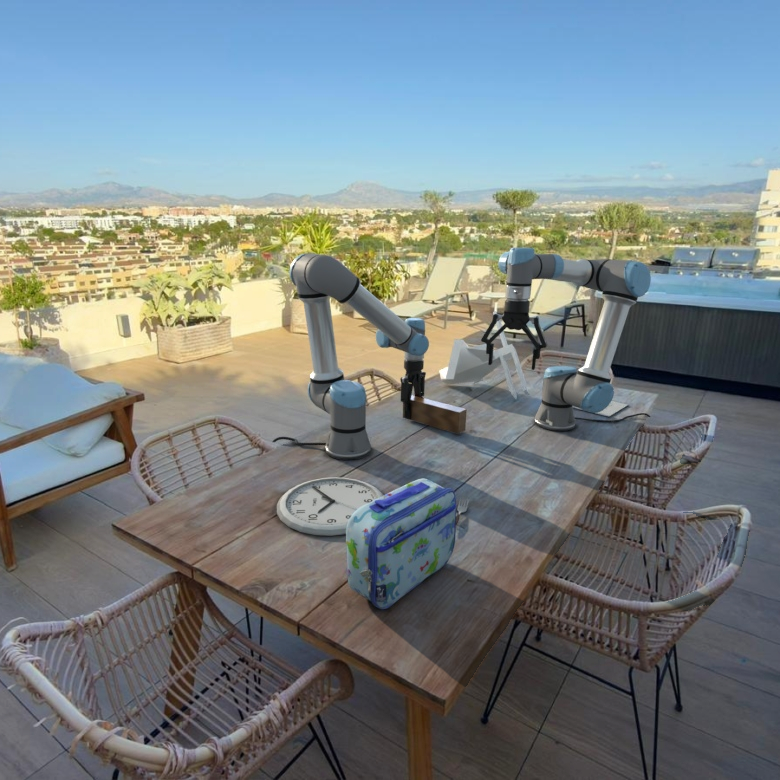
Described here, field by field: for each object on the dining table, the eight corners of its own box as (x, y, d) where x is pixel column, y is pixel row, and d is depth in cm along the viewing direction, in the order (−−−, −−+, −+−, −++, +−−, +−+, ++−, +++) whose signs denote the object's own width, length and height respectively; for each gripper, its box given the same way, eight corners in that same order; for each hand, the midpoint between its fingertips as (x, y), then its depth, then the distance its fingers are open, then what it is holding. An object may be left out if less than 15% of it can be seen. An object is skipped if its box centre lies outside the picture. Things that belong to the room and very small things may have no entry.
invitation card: (608, 416, 214) (573, 407, 224) (608, 416, 214) (573, 408, 224) (628, 404, 229) (594, 396, 238) (628, 405, 229) (594, 397, 238)
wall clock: (392, 527, 129) (268, 531, 127) (391, 533, 130) (269, 537, 127) (383, 473, 158) (282, 475, 155) (383, 478, 158) (282, 480, 156)
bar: (465, 430, 195) (466, 409, 192) (458, 434, 191) (459, 412, 188) (410, 414, 210) (410, 394, 208) (402, 417, 206) (403, 397, 204)
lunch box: (375, 622, 100) (376, 527, 94) (339, 595, 108) (338, 505, 101) (459, 565, 118) (465, 481, 112) (424, 545, 125) (427, 465, 119)
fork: (445, 533, 130) (445, 526, 130) (459, 503, 145) (460, 496, 144) (455, 535, 130) (456, 528, 129) (469, 504, 144) (469, 498, 143)
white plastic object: (461, 429, 252) (437, 405, 227) (444, 352, 274) (420, 323, 250) (535, 404, 240) (518, 377, 215) (510, 326, 262) (492, 293, 237)
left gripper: (419, 353, 208) (417, 408, 215) (391, 361, 195) (390, 419, 202) (435, 356, 204) (432, 412, 211) (407, 365, 190) (405, 424, 197)
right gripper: (474, 298, 162) (470, 364, 168) (558, 303, 153) (550, 373, 159) (480, 295, 168) (475, 359, 175) (560, 300, 160) (553, 367, 166)
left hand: (412, 416), depth 206 cm, fingers closed on bar, 5 cm apart
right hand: (511, 366), depth 167 cm, fingers open, 13 cm apart
